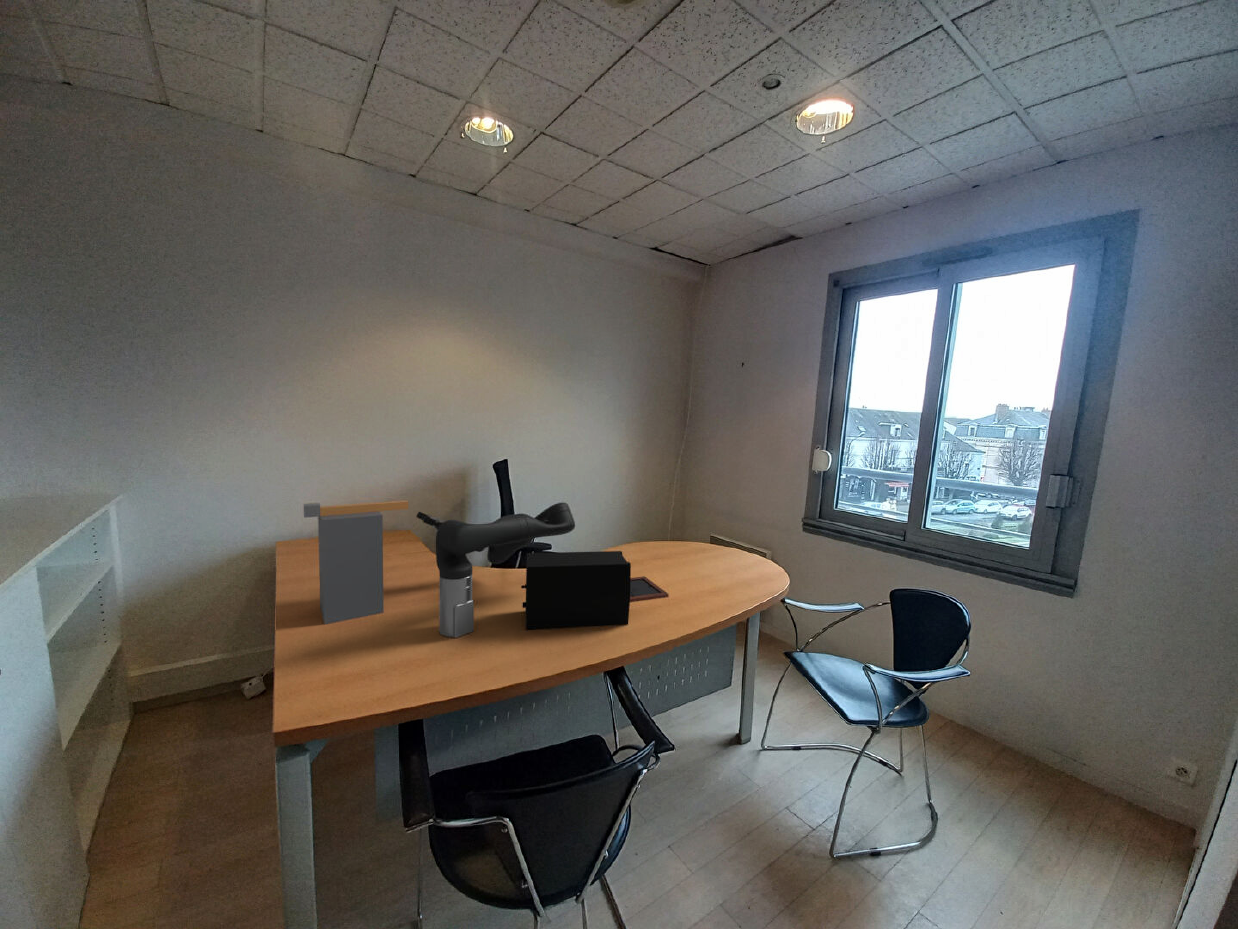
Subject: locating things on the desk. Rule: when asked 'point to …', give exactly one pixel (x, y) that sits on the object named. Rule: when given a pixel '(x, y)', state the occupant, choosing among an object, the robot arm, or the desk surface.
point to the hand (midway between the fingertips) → (420, 516)
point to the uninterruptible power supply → (576, 590)
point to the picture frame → (645, 590)
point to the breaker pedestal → (350, 565)
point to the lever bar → (352, 508)
